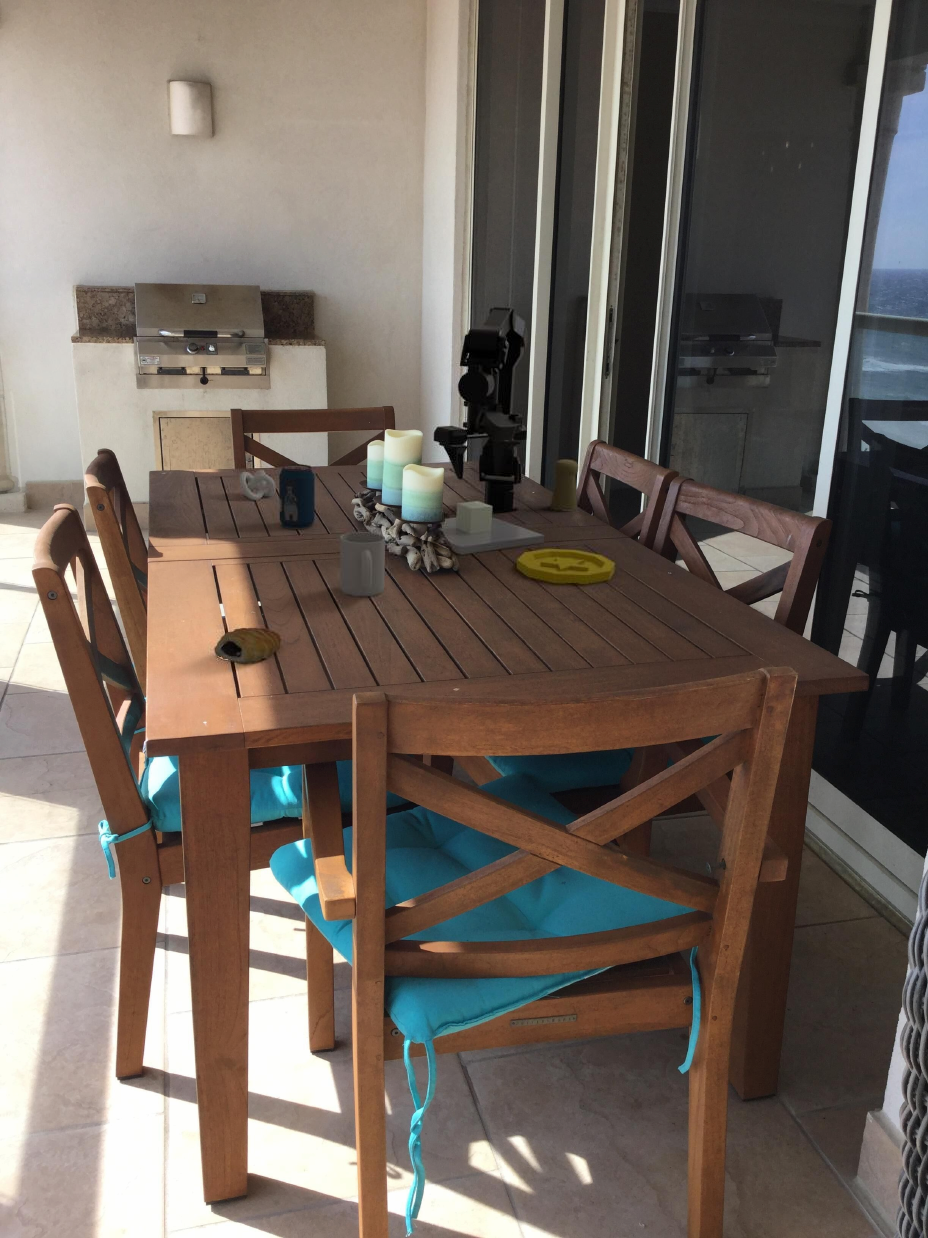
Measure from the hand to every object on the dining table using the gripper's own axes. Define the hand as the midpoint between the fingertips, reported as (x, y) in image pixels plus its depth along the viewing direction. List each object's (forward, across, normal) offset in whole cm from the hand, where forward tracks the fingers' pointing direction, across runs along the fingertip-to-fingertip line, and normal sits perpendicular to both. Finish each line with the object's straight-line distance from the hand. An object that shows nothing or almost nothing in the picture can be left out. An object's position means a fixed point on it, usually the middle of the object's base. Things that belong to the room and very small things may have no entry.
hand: (479, 477), depth 206 cm
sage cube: (+10, -1, -1) cm, 10 cm away
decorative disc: (+12, 0, -28) cm, 30 cm away
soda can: (+12, -28, +22) cm, 38 cm away
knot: (+12, -24, +50) cm, 57 cm away
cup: (+12, -39, -23) cm, 47 cm away
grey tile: (+12, -1, -1) cm, 12 cm away
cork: (+12, +33, +12) cm, 37 cm away
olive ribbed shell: (+12, -67, -39) cm, 78 cm away
